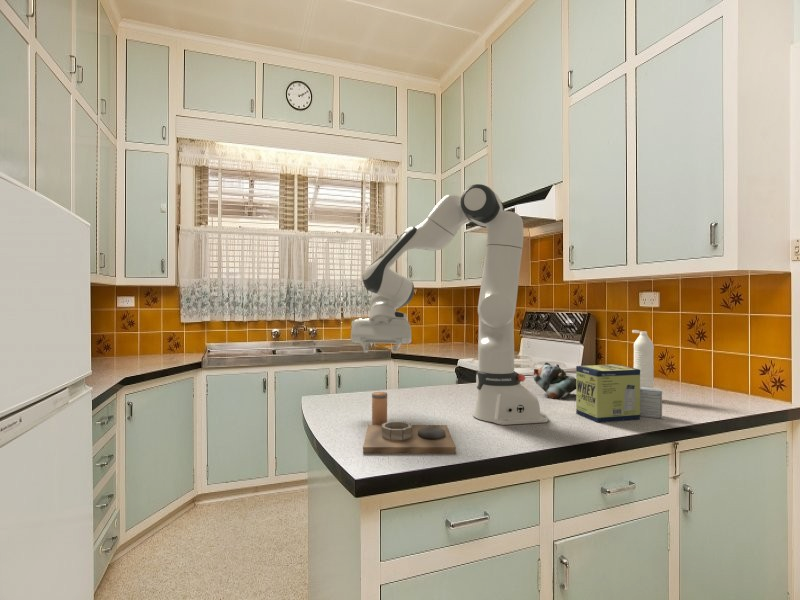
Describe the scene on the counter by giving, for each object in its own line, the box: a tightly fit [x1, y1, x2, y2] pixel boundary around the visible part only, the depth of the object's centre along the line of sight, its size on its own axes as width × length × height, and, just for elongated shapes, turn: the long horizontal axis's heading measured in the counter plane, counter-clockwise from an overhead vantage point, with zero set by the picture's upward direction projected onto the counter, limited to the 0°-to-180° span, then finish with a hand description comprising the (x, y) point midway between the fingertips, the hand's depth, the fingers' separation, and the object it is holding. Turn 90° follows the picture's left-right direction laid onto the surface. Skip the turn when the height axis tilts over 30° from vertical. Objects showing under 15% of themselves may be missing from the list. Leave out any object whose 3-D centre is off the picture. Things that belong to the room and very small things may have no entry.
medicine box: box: [640, 387, 663, 419], centre depth 135 cm, size 8×4×9 cm, turn 65°
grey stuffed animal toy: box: [532, 362, 576, 400], centre depth 165 cm, size 15×12×14 cm
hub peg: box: [371, 391, 388, 425], centre depth 126 cm, size 4×4×9 cm
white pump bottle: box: [631, 329, 655, 388], centre depth 160 cm, size 9×6×25 cm
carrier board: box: [362, 420, 457, 455], centre depth 111 cm, size 22×18×4 cm
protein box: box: [575, 363, 641, 424], centre depth 134 cm, size 10×16×16 cm
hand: (380, 351), depth 138 cm, fingers open, 8 cm apart
